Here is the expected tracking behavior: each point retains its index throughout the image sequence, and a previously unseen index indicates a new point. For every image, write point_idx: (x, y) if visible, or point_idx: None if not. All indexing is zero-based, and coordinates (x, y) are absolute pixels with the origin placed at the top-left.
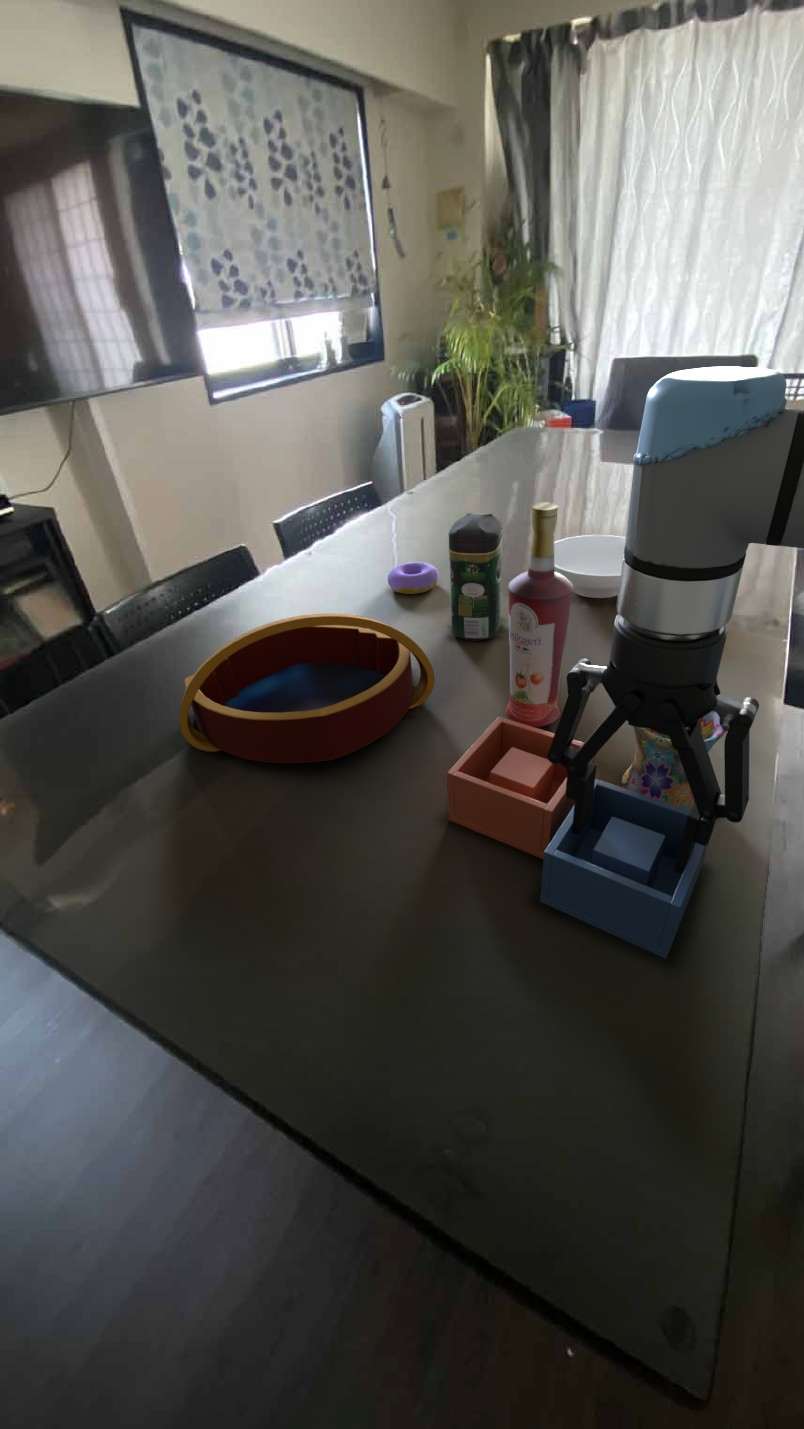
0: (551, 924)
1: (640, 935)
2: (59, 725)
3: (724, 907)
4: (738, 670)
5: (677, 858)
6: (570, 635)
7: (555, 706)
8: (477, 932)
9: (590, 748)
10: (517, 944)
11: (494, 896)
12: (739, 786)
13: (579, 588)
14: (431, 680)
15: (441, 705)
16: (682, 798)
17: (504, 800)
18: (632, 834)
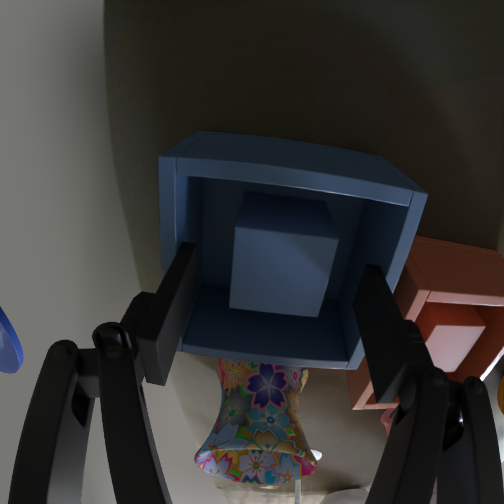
0: (358, 123)
1: (232, 137)
2: None
3: (155, 240)
4: None
5: (189, 260)
6: (366, 467)
7: (388, 425)
8: (443, 82)
9: (425, 452)
10: (392, 76)
11: (438, 146)
12: (28, 423)
13: (360, 494)
14: (500, 401)
15: (485, 382)
16: (234, 368)
17: (477, 286)
18: (279, 294)
